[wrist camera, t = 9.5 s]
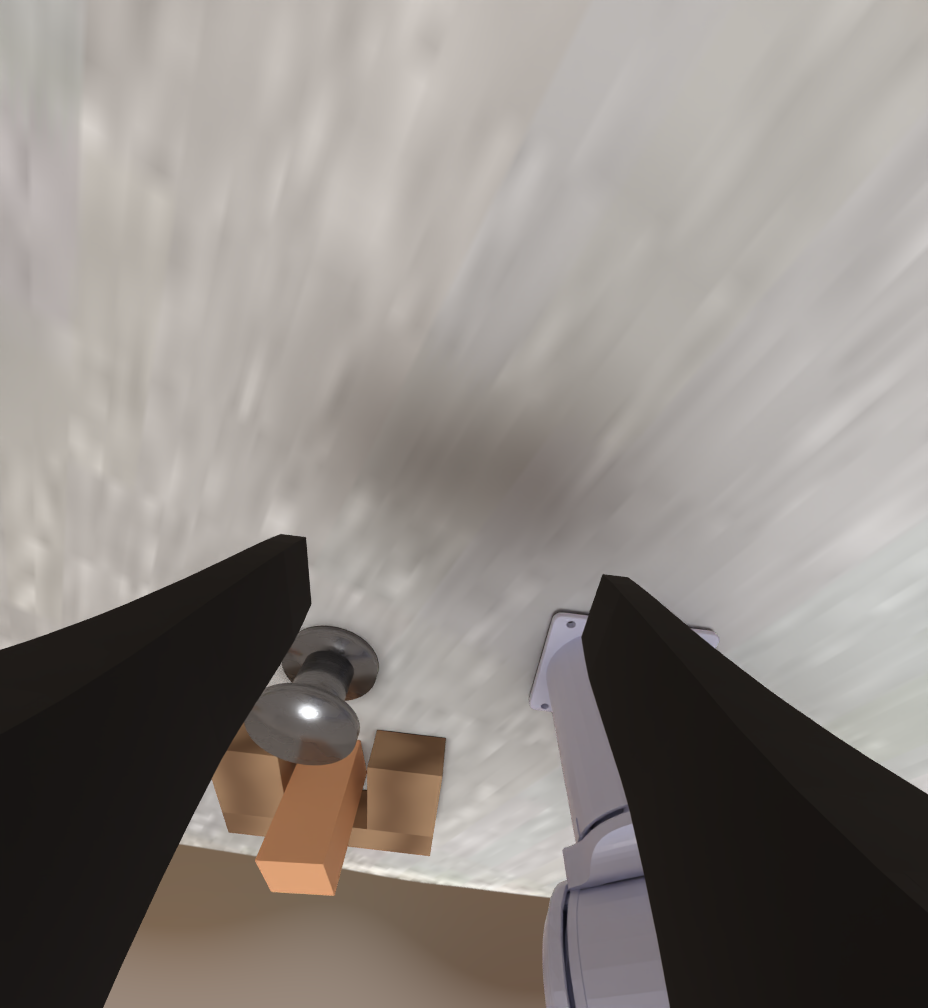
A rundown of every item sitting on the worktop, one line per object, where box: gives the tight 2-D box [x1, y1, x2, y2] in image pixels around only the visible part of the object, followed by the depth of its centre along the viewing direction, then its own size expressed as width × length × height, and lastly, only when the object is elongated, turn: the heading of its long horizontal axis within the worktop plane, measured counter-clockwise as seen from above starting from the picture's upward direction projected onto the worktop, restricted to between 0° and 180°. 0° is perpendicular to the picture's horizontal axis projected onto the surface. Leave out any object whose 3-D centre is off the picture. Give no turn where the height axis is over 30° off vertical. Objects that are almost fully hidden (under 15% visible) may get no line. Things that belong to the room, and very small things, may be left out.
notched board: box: [212, 723, 446, 856], centre depth 28 cm, size 16×11×2 cm
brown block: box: [255, 740, 367, 896], centre depth 25 cm, size 4×4×7 cm
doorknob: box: [244, 626, 379, 765], centre depth 22 cm, size 6×6×5 cm
